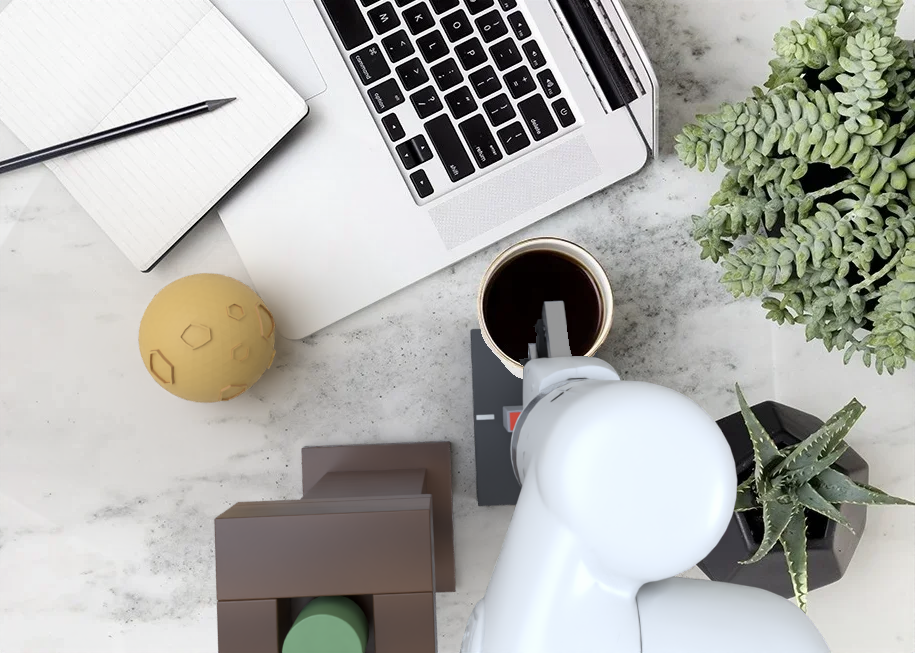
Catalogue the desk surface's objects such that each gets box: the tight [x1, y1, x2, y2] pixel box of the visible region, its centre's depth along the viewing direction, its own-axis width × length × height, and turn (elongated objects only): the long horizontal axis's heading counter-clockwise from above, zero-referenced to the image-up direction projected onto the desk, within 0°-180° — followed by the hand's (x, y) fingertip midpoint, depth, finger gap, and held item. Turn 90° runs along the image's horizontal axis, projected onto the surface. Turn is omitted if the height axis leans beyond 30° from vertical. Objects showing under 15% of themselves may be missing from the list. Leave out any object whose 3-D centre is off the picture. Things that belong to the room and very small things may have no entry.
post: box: [300, 440, 457, 594], centre depth 52 cm, size 12×12×24 cm
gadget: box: [469, 328, 599, 507], centre depth 63 cm, size 14×10×3 cm
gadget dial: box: [503, 406, 523, 432], centre depth 59 cm, size 6×2×5 cm, turn 92°
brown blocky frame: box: [213, 494, 439, 653], centre depth 38 cm, size 12×10×4 cm
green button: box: [282, 596, 369, 653], centre depth 36 cm, size 4×4×3 cm
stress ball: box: [138, 272, 277, 404], centre depth 59 cm, size 10×10×10 cm
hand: (543, 428), depth 57 cm, fingers open, 9 cm apart
